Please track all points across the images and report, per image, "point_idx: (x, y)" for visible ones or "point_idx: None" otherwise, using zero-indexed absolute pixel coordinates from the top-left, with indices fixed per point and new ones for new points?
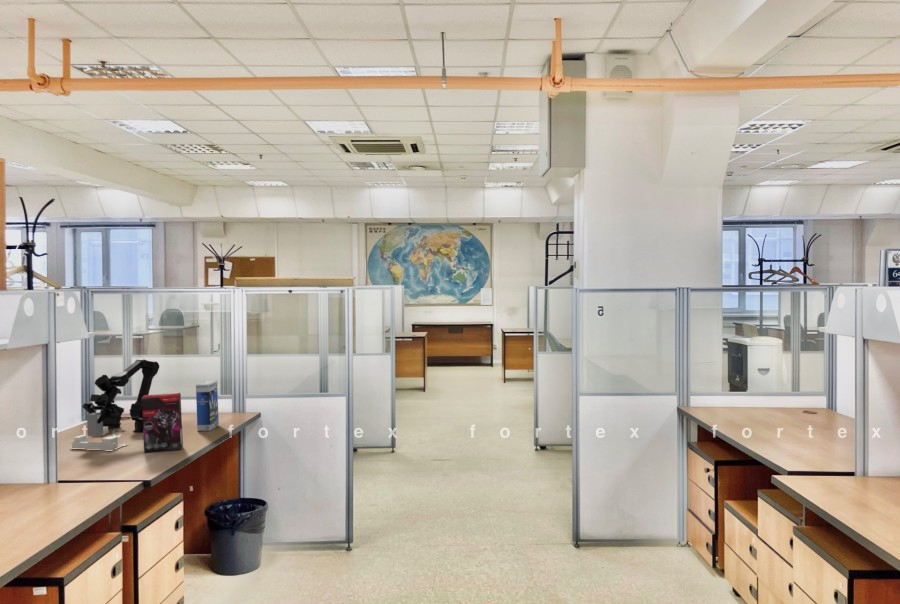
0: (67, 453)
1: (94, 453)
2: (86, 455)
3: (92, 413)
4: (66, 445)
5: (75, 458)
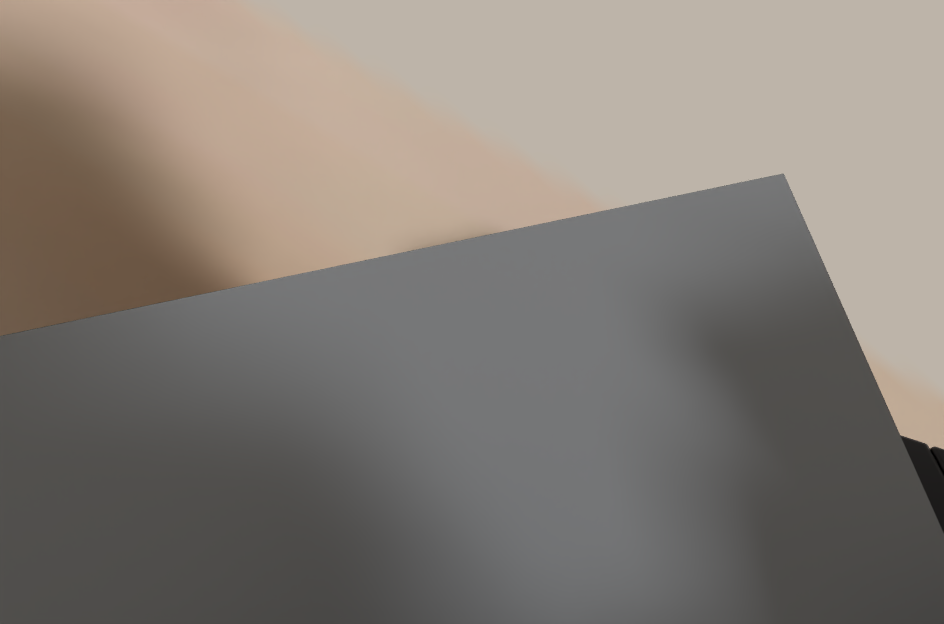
0: (446, 140)
1: (23, 287)
2: (53, 171)
3: (698, 500)
4: (908, 392)
5: (75, 26)
